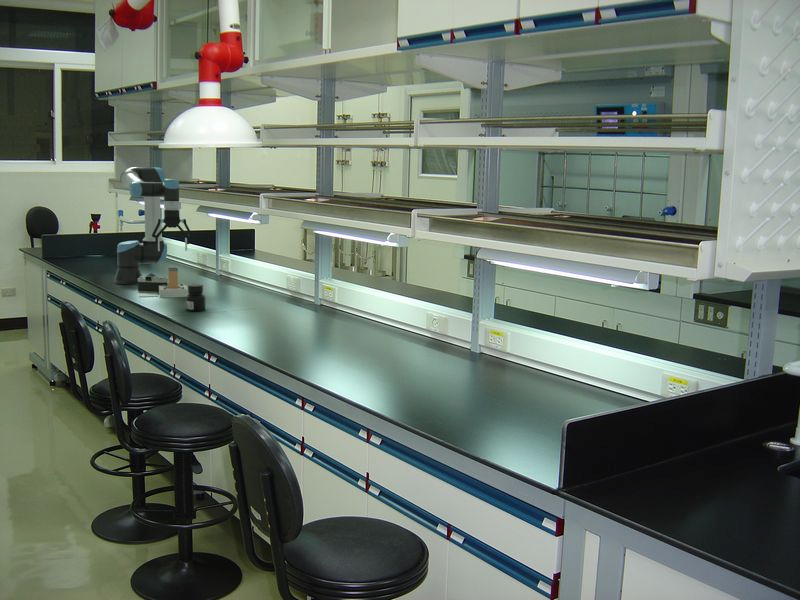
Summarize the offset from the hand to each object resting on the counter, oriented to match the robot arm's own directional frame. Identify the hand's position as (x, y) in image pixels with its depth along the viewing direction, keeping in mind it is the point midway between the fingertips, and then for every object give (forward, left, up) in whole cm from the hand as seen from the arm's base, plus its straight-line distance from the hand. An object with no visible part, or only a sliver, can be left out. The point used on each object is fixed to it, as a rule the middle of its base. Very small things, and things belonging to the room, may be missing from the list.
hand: (172, 250), depth 415 cm
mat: (0, -13, -23) cm, 26 cm away
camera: (-13, -9, -23) cm, 28 cm away
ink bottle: (+45, +8, -23) cm, 52 cm away
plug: (0, 0, -23) cm, 23 cm away
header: (0, 0, -23) cm, 23 cm away
